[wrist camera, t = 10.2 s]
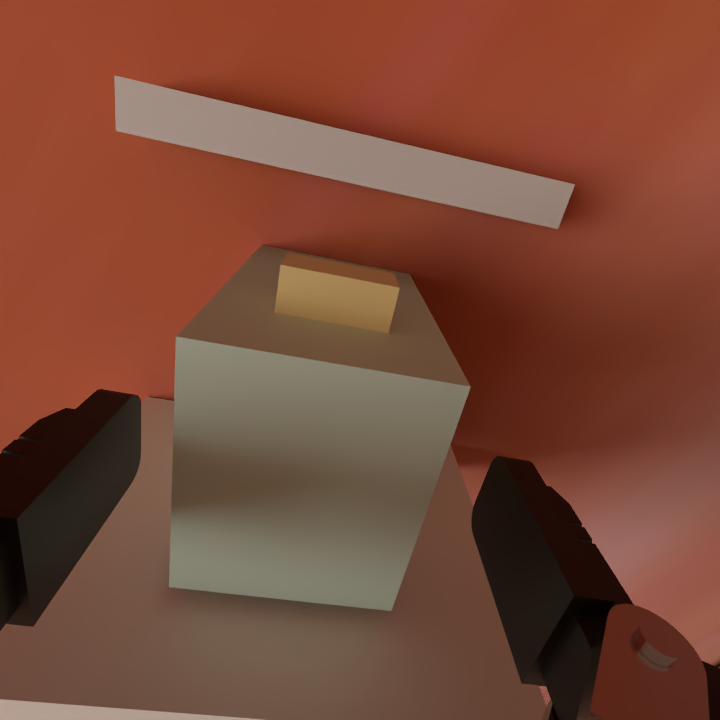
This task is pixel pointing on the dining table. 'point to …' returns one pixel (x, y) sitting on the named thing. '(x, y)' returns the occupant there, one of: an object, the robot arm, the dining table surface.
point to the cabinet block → (308, 431)
